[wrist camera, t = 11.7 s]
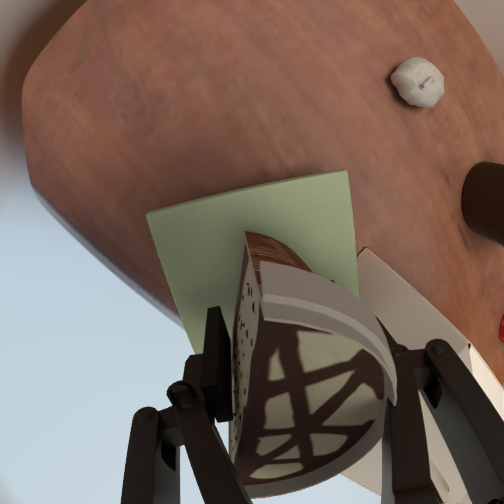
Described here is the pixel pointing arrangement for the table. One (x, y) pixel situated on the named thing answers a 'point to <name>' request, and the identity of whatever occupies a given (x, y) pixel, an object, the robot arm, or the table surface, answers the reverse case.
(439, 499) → the gable box
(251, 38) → the table surface
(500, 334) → the kitchen timer
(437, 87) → the garlic
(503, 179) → the olive oil
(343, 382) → the food container
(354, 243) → the stand
